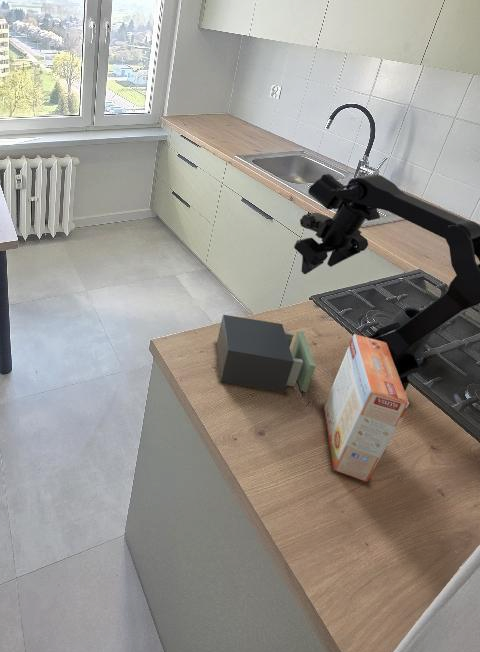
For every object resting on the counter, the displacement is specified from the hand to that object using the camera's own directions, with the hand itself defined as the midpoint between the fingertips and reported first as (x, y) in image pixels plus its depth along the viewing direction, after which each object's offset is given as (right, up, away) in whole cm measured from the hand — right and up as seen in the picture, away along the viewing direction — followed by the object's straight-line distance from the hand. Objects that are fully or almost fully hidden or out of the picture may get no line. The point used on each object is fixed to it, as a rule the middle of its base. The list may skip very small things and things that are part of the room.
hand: (316, 269), depth 104 cm
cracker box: (-7, -29, -23) cm, 37 cm away
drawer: (-14, -21, -9) cm, 27 cm away
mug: (+21, -20, 0) cm, 29 cm away
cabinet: (-20, -21, -8) cm, 30 cm away
